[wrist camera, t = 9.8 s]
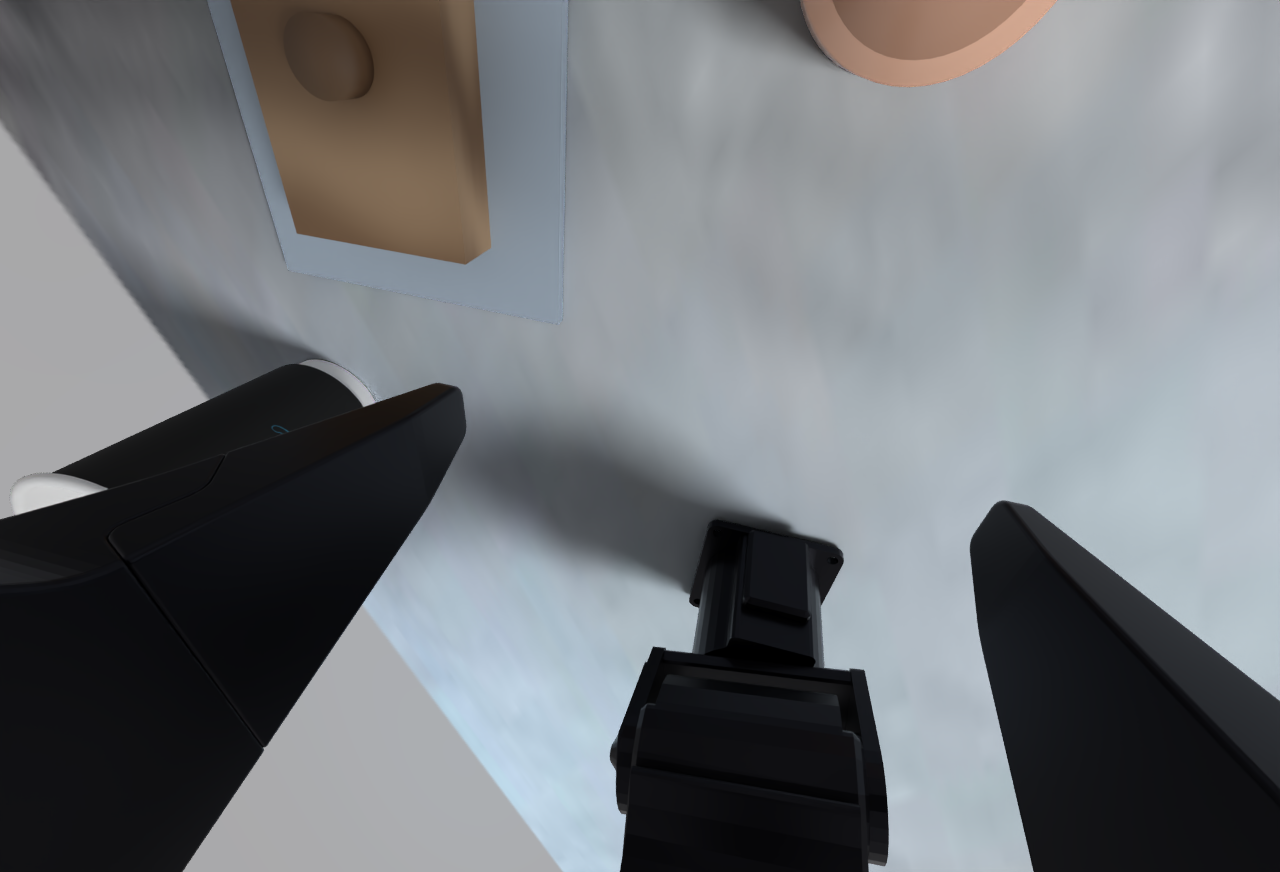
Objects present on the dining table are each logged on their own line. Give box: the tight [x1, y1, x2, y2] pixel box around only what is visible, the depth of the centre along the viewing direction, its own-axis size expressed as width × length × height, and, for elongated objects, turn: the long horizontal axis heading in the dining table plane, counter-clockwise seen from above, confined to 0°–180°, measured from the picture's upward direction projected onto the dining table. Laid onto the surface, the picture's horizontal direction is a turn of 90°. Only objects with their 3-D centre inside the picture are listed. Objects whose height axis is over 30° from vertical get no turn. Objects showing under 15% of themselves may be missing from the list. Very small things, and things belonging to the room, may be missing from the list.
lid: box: [230, 0, 491, 265], centre depth 16 cm, size 11×6×3 cm, turn 174°
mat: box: [207, 0, 568, 325], centre depth 17 cm, size 16×12×1 cm
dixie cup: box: [10, 359, 376, 515], centre depth 23 cm, size 8×8×11 cm
